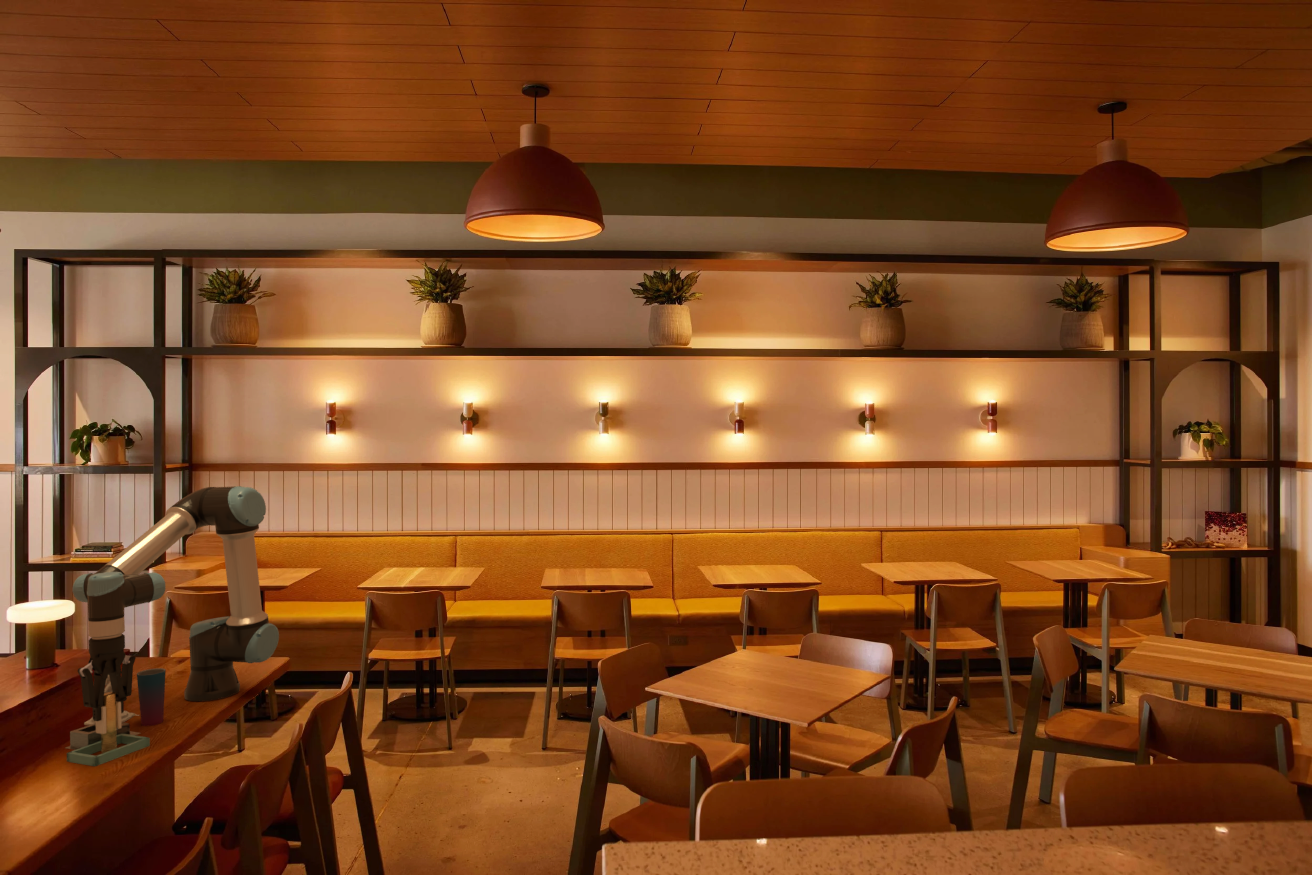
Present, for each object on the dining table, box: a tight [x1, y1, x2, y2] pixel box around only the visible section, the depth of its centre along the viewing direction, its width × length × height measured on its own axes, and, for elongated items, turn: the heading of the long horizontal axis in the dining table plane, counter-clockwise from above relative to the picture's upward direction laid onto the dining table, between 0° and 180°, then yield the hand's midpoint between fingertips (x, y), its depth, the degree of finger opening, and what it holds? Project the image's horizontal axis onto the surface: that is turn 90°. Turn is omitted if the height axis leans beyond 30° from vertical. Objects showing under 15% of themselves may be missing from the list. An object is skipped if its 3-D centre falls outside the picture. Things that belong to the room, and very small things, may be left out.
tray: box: [66, 734, 151, 767], centre depth 206 cm, size 14×10×3 cm
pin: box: [100, 692, 118, 754], centre depth 206 cm, size 3×3×14 cm
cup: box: [136, 667, 167, 727], centre depth 228 cm, size 7×7×15 cm
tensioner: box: [64, 722, 141, 751], centre depth 215 cm, size 14×9×5 cm, turn 159°
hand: (108, 729), depth 206 cm, fingers closed on pin, 3 cm apart
